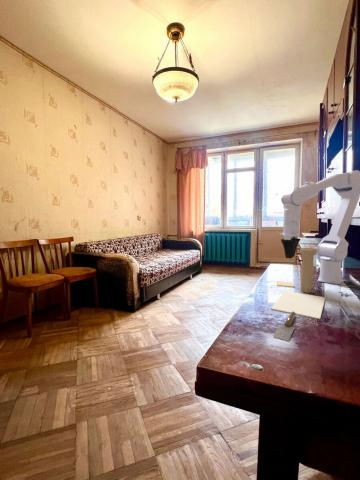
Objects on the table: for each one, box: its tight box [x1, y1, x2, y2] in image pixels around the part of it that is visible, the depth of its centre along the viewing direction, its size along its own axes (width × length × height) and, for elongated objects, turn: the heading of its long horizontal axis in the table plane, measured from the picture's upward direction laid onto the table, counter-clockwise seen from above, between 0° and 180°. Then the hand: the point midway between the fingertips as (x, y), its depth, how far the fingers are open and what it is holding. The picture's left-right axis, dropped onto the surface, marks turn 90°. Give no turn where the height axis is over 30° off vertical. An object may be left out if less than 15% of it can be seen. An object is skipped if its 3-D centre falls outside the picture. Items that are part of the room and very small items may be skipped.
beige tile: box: [275, 280, 295, 288], centre depth 95 cm, size 6×6×1 cm
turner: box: [273, 312, 297, 342], centre depth 58 cm, size 15×3×1 cm, turn 146°
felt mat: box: [270, 290, 326, 320], centre depth 74 cm, size 20×12×1 cm, turn 146°
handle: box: [299, 247, 317, 294], centre depth 85 cm, size 5×6×15 cm
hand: (290, 257), depth 95 cm, fingers open, 4 cm apart
